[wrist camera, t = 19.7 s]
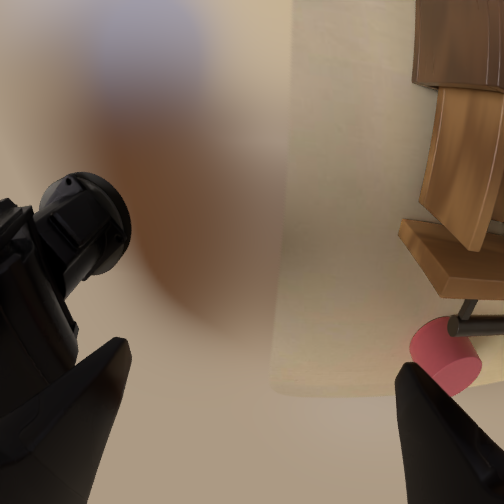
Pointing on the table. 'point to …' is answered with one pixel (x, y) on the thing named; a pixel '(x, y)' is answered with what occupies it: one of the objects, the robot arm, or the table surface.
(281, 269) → the table surface
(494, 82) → the cabinet
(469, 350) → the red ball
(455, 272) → the drawer
